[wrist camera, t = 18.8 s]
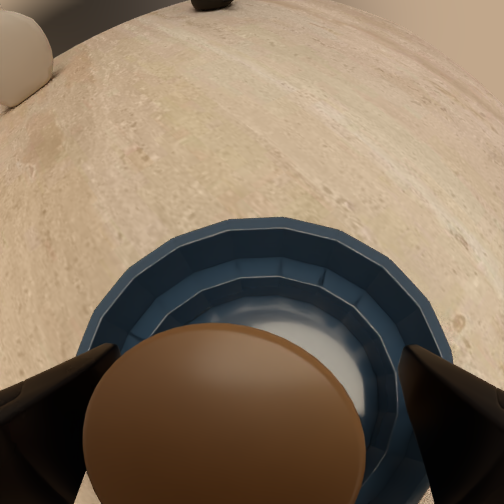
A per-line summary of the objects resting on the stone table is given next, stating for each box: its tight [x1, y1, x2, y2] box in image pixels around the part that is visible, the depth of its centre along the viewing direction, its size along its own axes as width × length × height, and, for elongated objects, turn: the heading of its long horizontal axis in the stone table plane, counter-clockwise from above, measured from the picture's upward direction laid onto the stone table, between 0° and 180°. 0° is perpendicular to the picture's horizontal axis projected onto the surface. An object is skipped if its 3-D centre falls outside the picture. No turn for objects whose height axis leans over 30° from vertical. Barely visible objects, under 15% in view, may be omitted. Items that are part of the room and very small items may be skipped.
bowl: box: [76, 217, 453, 504], centre depth 12 cm, size 15×15×6 cm
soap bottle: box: [0, 4, 53, 107], centre depth 26 cm, size 14×8×27 cm, turn 128°
